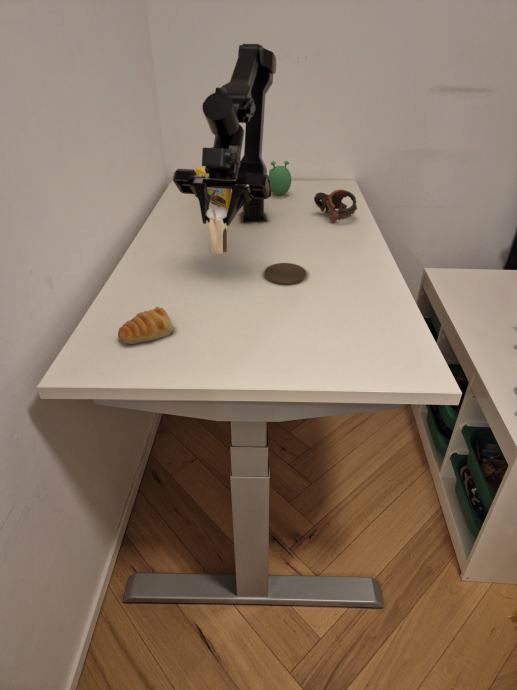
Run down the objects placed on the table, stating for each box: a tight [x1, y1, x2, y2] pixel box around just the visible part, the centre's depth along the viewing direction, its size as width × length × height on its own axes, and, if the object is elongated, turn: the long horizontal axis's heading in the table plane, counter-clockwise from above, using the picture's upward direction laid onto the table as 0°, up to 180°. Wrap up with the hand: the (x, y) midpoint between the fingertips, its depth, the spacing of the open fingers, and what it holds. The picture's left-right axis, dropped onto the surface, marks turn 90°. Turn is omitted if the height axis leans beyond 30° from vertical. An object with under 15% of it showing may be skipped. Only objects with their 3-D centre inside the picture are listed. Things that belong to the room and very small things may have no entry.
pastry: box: [117, 306, 174, 345], centre depth 82 cm, size 9×7×4 cm
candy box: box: [194, 166, 232, 210], centre depth 135 cm, size 16×2×8 cm, turn 37°
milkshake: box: [206, 206, 229, 255], centre depth 95 cm, size 4×5×10 cm
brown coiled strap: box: [313, 189, 358, 224], centre depth 126 cm, size 12×10×8 cm
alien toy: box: [268, 160, 292, 196], centre depth 140 cm, size 7×8×10 cm
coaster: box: [263, 262, 307, 286], centre depth 101 cm, size 9×9×1 cm
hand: (215, 224), depth 93 cm, fingers closed on milkshake, 4 cm apart
